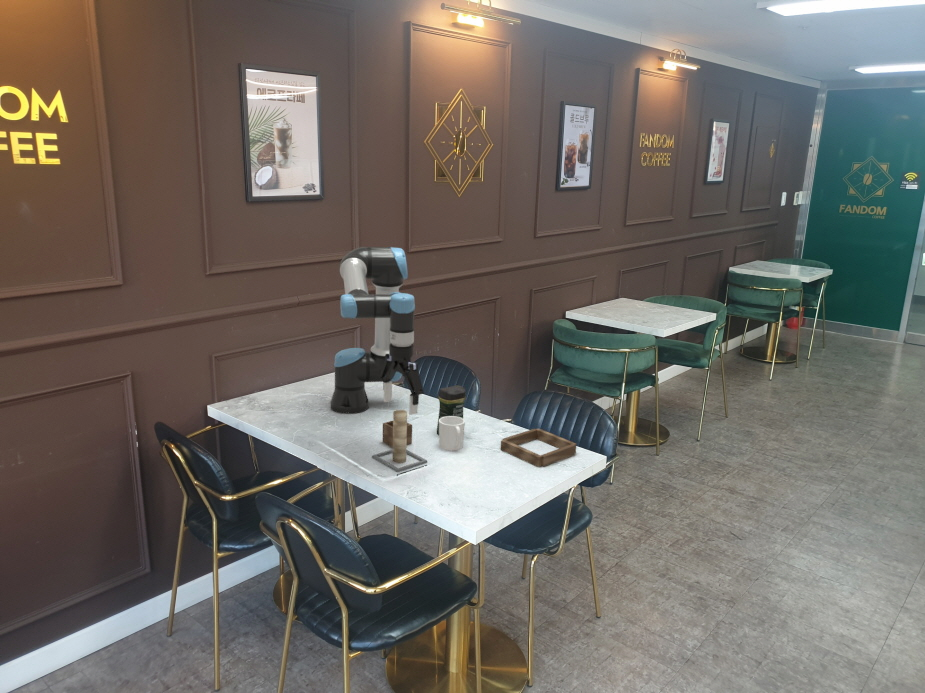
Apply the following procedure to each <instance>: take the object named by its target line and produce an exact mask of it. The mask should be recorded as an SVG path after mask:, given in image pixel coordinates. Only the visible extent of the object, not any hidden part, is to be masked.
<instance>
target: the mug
mask: <svg viewBox="0 0 925 693" xmlns="http://www.w3.org/2000/svg"><path fill="white" fill-rule="evenodd" d="M465 423H466V420H465V419H464V417H463V418H460V417H456V416H446V417H442V418H440V419H439V435H438V447H439V449H441V450H444V451H452V452H453V451H458V450H459V451H460V450H462V449H463V445H464V435H465Z"/></svg>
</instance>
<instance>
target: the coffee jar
mask: <svg viewBox="0 0 925 693" xmlns="http://www.w3.org/2000/svg"><path fill="white" fill-rule="evenodd" d="M437 397H438V402H439V410H438V419H437V424H436V435H438V436H439V419H440V418H442V417H446V416H456V417H460V418H463V419H464V407H465V406H464V404H465V401H466V398H467V397H466V388H465V387H463V386H461V385H460V384H459V385H458V384H456V385H452V386H447V387H440V388H439V390H438V396H437Z"/></svg>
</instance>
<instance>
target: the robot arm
mask: <svg viewBox="0 0 925 693" xmlns="http://www.w3.org/2000/svg"><path fill="white" fill-rule="evenodd" d="M408 272H409V271H408V264H407V256H406V253H405V250H404V249H403V248H401V247H393V246H383V247H382V246H381V247H379V246H375V247H374V246H373V247H372V246H361V247H357V248H354V249H352V250H351V251H349V252H348V253H347V254H345V255H344V256H343V258H342V260H341V261H340V263H339V274H340V276H341V278H342V280H343V283H344V285H343V286H344V294H342V295H341V296H340V306H339V307H340V316H341V317H342V318H344V319H371V318H372V319H374V343H373V345H372V346H371V347H370V352H366V351H365V349H364V348H362V347H352V348H351V347H350V348H345V349H342V350H340V351H338V352H337V353H336V354H335V356H334V364H333V366H334V390H333V392H332V396H331V400H330V401H329V405H330V406H329V408H330V410H331V411H333V412H335V413H338V414H339V413H340V414H346V415H347V414H359V413H362V412H365V411H367V410H369V407H370V401H369V397H368V395H367V391H366V387H365V383H382V385H383V388H382V389H383V402H384V403H388V402H392V400H393V382H399V380H401V378H402V377H404V379H405V381H406V384H407V387H408V388H409V389H408V390H409V391H410V394H409V405H408V406H409V410H408V411H409V412H408V414H409V415H410V416H412V415H415V414H418V411H419V410H418V408H419V406H418V405H419V403H420V402H419V398H420V397H419V396H420V395H423V394H425V393H424V392H425V391H424V387H423V384H422V381H421V376H420V373H419V364H418V362H412V360H411V359H412V357H413V355H414V346H415V345H414V342H415V327H414V326H415V309H416V305H415V304H416V303H415V297H414V295H413V294H411V293H407V292H404V293H403V292H400V290H399V289H400V288H401V287H402V286H403V285H404V280H407V279H408V275H409V274H408ZM367 280H371V284H372V285H373V286H374V287H375V294H372V293H371V294H369V290H368V289H369V288H368V284H367Z"/></svg>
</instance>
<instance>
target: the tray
mask: <svg viewBox="0 0 925 693" xmlns="http://www.w3.org/2000/svg"><path fill="white" fill-rule="evenodd" d="M390 454H391V455H393V448H392V449H389V450H385V451H382V452H378V453H376V454H373V455H372V454H371V459H374V460H375V461H376V462H378V463H381V464H382V465H383V466H386V467H387V468H389V469H391V470H392V471H394V472H396V473H397V474H396V476H400V475H403V474H406V473H408V472H412V471H414V470H418V469H421V468H424V466H425V467H427V466H428V459H425V458H423V457H422V456H419V455H418V454H416V453H414V452H413V451H410V450H408V449H406V455H408V456H410V457H411V458H413V459H415V460H416V462H413V463H410V464H407V465H404V466H401V467H397V466H395V465H393V464H392V463H390V462H389V461H387V460H384V459H383V458H381V457H384V456H387V455H390ZM409 469H410V470H409Z"/></svg>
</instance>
